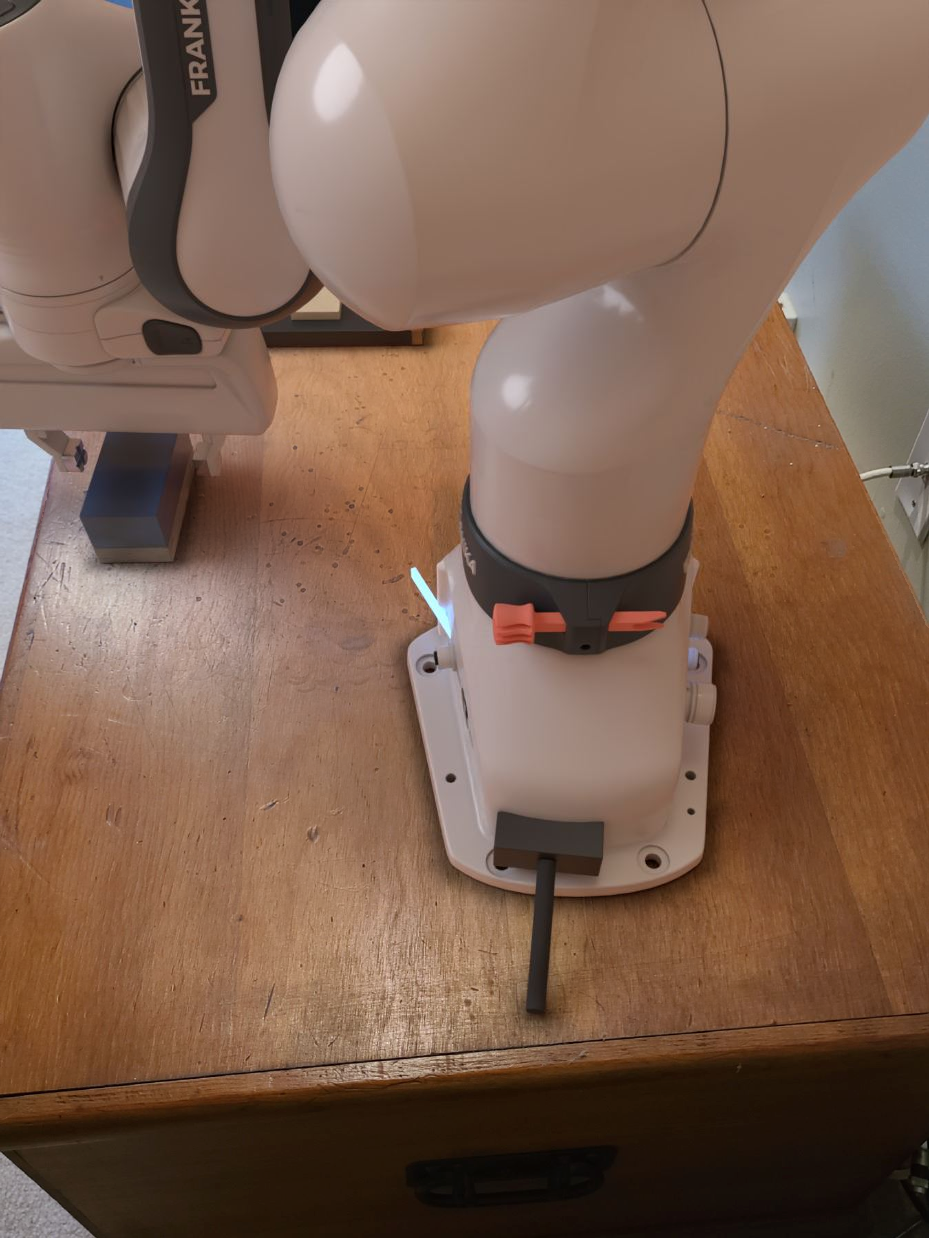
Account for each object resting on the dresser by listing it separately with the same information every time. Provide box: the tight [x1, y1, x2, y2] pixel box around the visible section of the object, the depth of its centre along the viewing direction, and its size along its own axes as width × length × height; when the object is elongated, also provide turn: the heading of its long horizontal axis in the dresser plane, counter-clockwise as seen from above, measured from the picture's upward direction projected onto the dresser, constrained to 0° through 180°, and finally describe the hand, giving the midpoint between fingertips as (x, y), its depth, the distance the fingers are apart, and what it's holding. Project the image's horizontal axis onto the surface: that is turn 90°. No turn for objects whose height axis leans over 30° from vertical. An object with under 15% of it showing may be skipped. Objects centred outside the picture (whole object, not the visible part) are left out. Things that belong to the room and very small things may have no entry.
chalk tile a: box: [291, 286, 342, 320], centre depth 82 cm, size 4×4×1 cm
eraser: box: [78, 432, 196, 564], centre depth 68 cm, size 5×10×4 cm, turn 0°
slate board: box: [259, 303, 425, 348], centre depth 84 cm, size 11×22×2 cm, turn 91°
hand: (142, 468), depth 68 cm, fingers open, 8 cm apart
